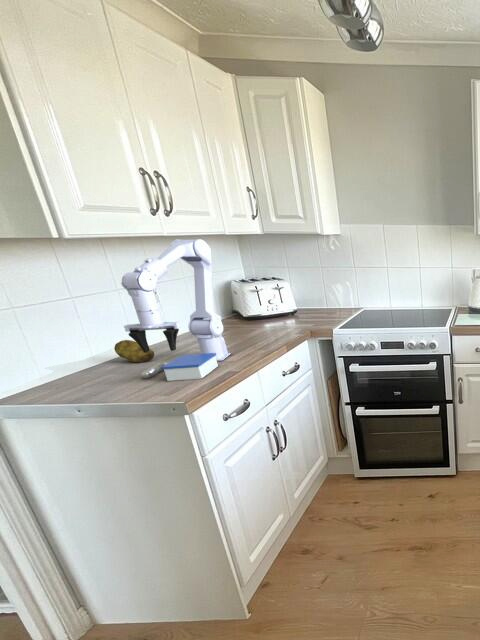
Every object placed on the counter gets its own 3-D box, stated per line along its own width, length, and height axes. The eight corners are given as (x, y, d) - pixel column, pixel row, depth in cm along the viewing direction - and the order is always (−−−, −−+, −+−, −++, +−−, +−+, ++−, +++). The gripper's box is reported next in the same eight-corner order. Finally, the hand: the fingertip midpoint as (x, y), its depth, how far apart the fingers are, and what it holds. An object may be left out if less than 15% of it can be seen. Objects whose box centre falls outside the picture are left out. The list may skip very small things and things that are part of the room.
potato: (133, 366, 153) (125, 345, 150) (115, 361, 158) (108, 341, 155) (158, 360, 160) (152, 340, 157) (141, 356, 165) (134, 336, 162)
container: (186, 368, 150) (182, 355, 148) (219, 365, 153) (215, 352, 151) (165, 381, 137) (161, 367, 135) (202, 378, 139) (198, 364, 138)
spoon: (161, 366, 153) (159, 359, 152) (176, 365, 154) (174, 358, 153) (137, 380, 138) (134, 372, 137) (153, 378, 139) (151, 371, 139)
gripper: (113, 314, 128) (127, 355, 133) (167, 311, 132) (179, 352, 137) (126, 310, 135) (139, 350, 139) (178, 307, 138) (189, 347, 143)
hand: (160, 351), depth 138 cm, fingers open, 7 cm apart
